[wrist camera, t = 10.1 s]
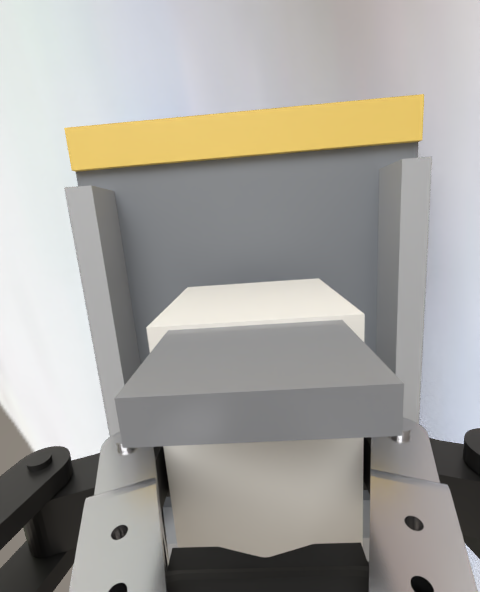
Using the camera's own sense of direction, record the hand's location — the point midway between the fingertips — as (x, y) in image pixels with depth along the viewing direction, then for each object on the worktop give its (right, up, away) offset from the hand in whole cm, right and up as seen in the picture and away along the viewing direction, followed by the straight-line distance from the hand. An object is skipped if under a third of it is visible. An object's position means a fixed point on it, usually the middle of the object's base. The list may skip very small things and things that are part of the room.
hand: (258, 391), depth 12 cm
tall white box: (0, 0, +2) cm, 2 cm away
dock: (0, +2, +6) cm, 6 cm away
